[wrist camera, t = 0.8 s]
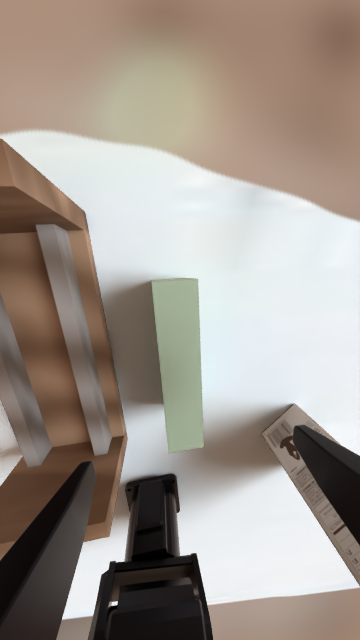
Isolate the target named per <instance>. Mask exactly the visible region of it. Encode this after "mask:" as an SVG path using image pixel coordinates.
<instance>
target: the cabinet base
mask: <svg viewBox="0 0 360 640" xmlns="http://www.w3.org/2000/svg"><path fill="white" fill-rule="evenodd" d="M0 399H1V401H2V404H3V406H4V409H5V411H6V414H7V416H8V419H9V421H10V424H11V427H12V429H13V432H14V434H15V437H16V439H17V442H18V444H19V447H20V449H21V452H22V454H23V457H22V458H21V460H20V461H19V462H18V464H17V465H16V466H15V468H14V469H13V470H12V472H11V473H10V474H9V476H8V477H7V478H6V480H5V481H4V482H3V484H2V485H1V486H0V560H1V558H2V557H3V556H4V555H5V554H6V552H7V551H8V550H9V549H10V548H11V546H12V545H13V544H14V543H15V541H16V540H17V539H18V538H19V537H20V535H21V534H22V533H23V532H24V531H25V529H26V528H27V527H28V526H29V525H30V523H31V522H32V521H33V520H34V518H35V517H36V516H37V515H38V514H39V512H40V511H41V510H42V509H43V508H44V506H45V505H46V504H47V503H48V501H49V500H50V499H51V498H52V497H53V495H54V494H55V493H56V492H57V491H58V489H59V488H60V487H61V486H62V484H63V483H64V482H65V481H66V480H67V478H68V477H69V476H70V475H71V474H72V472H73V471H74V470H75V469H76V468H77V466H78V465H79V464H80V463H81V462H83V461H89V460H91V461H93V465H94V468H95V472H96V483H95V488H94V493H93V498H92V503H91V508H90V513H89V518H88V523H87V528H86V533H85V537H84V541H83V542H86V541H91V540H95V539H100V538H104V537H109V535H110V530H111V525H112V519H113V514H114V509H115V503H116V498H117V493H118V487H119V482H120V477H121V472H122V466H123V461H124V456H125V450H126V445H127V440H128V438H127V433H126V427H125V422H124V417H123V411H122V406H121V401H120V395H119V390H118V385H117V380H116V374H115V369H114V364H113V358H112V353H111V348H110V342H109V337H108V332H107V326H106V321H105V316H104V310H103V305H102V300H101V294H100V289H99V284H98V278H97V273H96V268H95V263H94V257H93V252H92V247H91V241H90V236H89V231H88V225H87V220H86V215H85V212H84V211H83V210H82V209H81V208H80V207H79V206H78V205H76V204H75V203H74V202H73V201H72V200H71V199H70V198H68V197H67V196H66V195H65V194H64V193H63V192H62V191H61V190H59V189H58V188H57V187H56V186H55V185H54V184H53V183H51V182H50V181H49V180H48V179H47V178H46V177H45V176H43V175H42V174H41V173H40V172H39V171H38V170H37V169H36V168H34V167H33V166H32V165H31V164H30V163H29V162H28V161H26V160H25V159H24V158H23V157H22V156H21V155H20V154H18V153H17V152H16V151H15V150H14V149H13V148H12V147H11V146H9V145H8V144H7V143H6V142H5V141H4V140H3V139H0Z"/></svg>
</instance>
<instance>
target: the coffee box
mask: <svg viewBox="0 0 360 640" xmlns="http://www.w3.org/2000/svg"><path fill="white" fill-rule="evenodd" d="M300 424H304V425H306V426H308V427H310V428H311V429H313V430H315V431H317V432H318V433H320V434H322V435H324V436H325V437H327V438H329V439H331V440H332V441H334V442H336V443H338V442H337V441H336V440H335V439H334V438H333V437H332V436H330V435H329V434H328V433H327V432H326V431H325V430H324V429H323V428H322V427H321V426H319V425H318V424H317V423H316V422H315V421H314V420H313V419H312V418H311V417H310V416H308V415H307V414H306V413H305V412H304V411H303V410H302V409H301V408H300V407H298V406H297V405H296V404H294V405H292V406H291V407H290V408H289V409H288V410H287V411H286V412H285V413H284V414H283V415H281V416H280V417H279V418H278V419H277V420H276V421H275V422H274V423H273V424H272V425H271V426H270V427H268V428H267V429H266V430H265V431H264V432H263V433H262V436H263V437H264V439H265V440H266V442H267V443H268V445H269V446H270V448H271V450H272V451H273V453H274V454H275V456H276V457H277V459H278V460H279V462H280V463H281V465H282V466H283V468H284V469H285V471H286V473H287V474H288V476H289V477H290V479H291V480H292V482H293V483H294V485H295V486H296V488H297V489H298V491H299V493H300V494H301V496H302V497H303V499H304V500H305V502H306V503H307V505H308V507H309V508H310V510H311V511H312V513H313V514H314V516H315V517H316V519H317V520H318V522H319V524H320V525H321V527H322V528H323V530H324V531H325V533H326V534H327V536H328V538H329V539H330V541H331V542H332V544H333V545H334V547H335V548H336V550H337V551H338V553H339V555H340V556H341V558H342V559H343V561H344V562H345V564H346V566H347V567H348V569H349V570H350V572H351V573H352V575H353V576H354V578H355V579H356V581H357V582H358V584H359V586H360V546H359V544H358V543H357V541H356V540H355V538H354V537H353V536H352V534H351V533H350V531H349V530H348V528H347V527H346V525H345V524H344V522H343V521H342V520H341V518H340V517H339V515H338V514H337V512H336V511H335V509H334V508H333V507H332V505H331V504H330V502H329V501H328V499H327V498H326V496H325V495H324V493H323V492H322V491H321V489H320V488H319V486H318V484H317V483H316V481H315V480H314V478H313V476H312V475H311V473H310V471H309V469H308V468H307V466H306V464H305V463H304V461H303V459H302V458H301V456H300V454H299V453H298V451H297V449H296V447H295V446H294V444H293V440H292V438H293V429H294V426H295V425H300ZM338 444H339V443H338ZM339 445H340V444H339Z"/></svg>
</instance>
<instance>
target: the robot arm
mask: <svg viewBox="0 0 360 640" xmlns="http://www.w3.org/2000/svg"><path fill="white" fill-rule="evenodd" d="M292 440H293V444H294V446H295V447H296V449H297V451H298V453H299V454H300V456H301V458H302V459H303V461H304V463H305V464H306V466H307V468H308V469H309V471H310V473H311V475H312V476H313V478H314V480H315V481H316V483H317V484H318V486H319V488H320V489H321V491H322V492H323V493H324V495H325V496H326V498H327V499H328V501H329V502H330V504H331V505H332V507H333V508H334V509H335V511H336V512H337V514H338V515H339V517H340V518H341V520H342V521H343V522H344V524H345V525H346V527H347V528H348V530H349V531H350V533H351V534H352V536H353V537H354V538H355V540H356V541H357V543H358V544H359V546H360V456H359V455H357V454H355V453H354V452H352V451H350V450H348V449H347V448H345V447H343V446H341V445H339V444H338V443H336V442H334V441H332V440H331V439H329V438H327V437H325V436H324V435H322V434H320V433H318V432H317V431H315V430H313V429H311V428H310V427H308V426H306V425H304V424H300V425H295V426H294V429H293V438H292ZM95 483H96V472H95V468H94V465H93V461H91V460H89V461H83V462H81V463H80V464H79V465H78V466H77V468H76V469H75V470H74V471H73V472H72V474H71V475H70V476H69V477H68V478H67V480H66V481H65V482H64V483H63V484H62V486H61V487H60V488H59V489H58V491H57V492H56V493H55V494H54V495H53V497H52V498H51V499H50V500H49V501H48V503H47V504H46V505H45V506H44V508H43V509H42V510H41V511H40V512H39V514H38V515H37V516H36V517H35V518H34V520H33V521H32V522H31V523H30V525H29V526H28V527H27V528H26V529H25V531H24V532H23V533H22V534H21V535H20V537H19V538H18V539H17V540H16V541H15V543H14V544H13V545H12V546H11V548H10V549H9V550H8V551H7V552H6V554H5V555H4V556H3V557H2V558H1V560H0V640H56V638H57V634H58V631H59V627H60V624H61V620H62V616H63V613H64V609H65V606H66V602H67V598H68V595H69V591H70V588H71V584H72V580H73V577H74V573H75V570H76V566H77V563H78V559H79V555H80V552H81V548H82V545H83V541H84V537H85V533H86V528H87V523H88V518H89V513H90V508H91V503H92V498H93V493H94V488H95ZM125 492H126V496H127V501H128V506H129V511H130V519H129V527H128V536H127V544H126V553H125V561H124V562H117V563H116V561H111V562H110V565H109V570H107V571H106V572H105V573H104V574H102V575H101V581H100V586H99V591H98V596H97V601H96V606H95V611H94V615H93V619H92V624H91V629H90V632H89V636H88V640H213V635H212V628H211V622H210V616H209V611H208V607H207V602H206V597H205V592H204V587H203V583H202V578H201V573H200V568H199V564H198V559H197V554H196V553H192V554H191V555H186V556H180V550H179V537H178V524H177V513H178V512H179V511H180V507H179V497H178V488H177V478H176V476H175V475H170V476H165V477H160V478H154V479H149V480H144V481H139V482H134V483H129V484H127V485H126V489H125ZM114 601H118V605H116V606H111V603H112V602H114Z"/></svg>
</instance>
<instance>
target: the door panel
mask: <svg viewBox="0 0 360 640" xmlns="http://www.w3.org/2000/svg"><path fill="white" fill-rule="evenodd" d="M151 283H152V293H153V303H154V313H155V323H156V333H157V343H158V353H159V362H160V372H161V382H162V392H163V402H164V412H165V422H166V432H167V442H168V451H169V453H173V452H179V451H185V450H191V449H197V448H203V447H204V439H203V410H202V381H201V352H200V323H199V294H198V279H192V278H178V279H162V280H153V281H152V282H151Z"/></svg>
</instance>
